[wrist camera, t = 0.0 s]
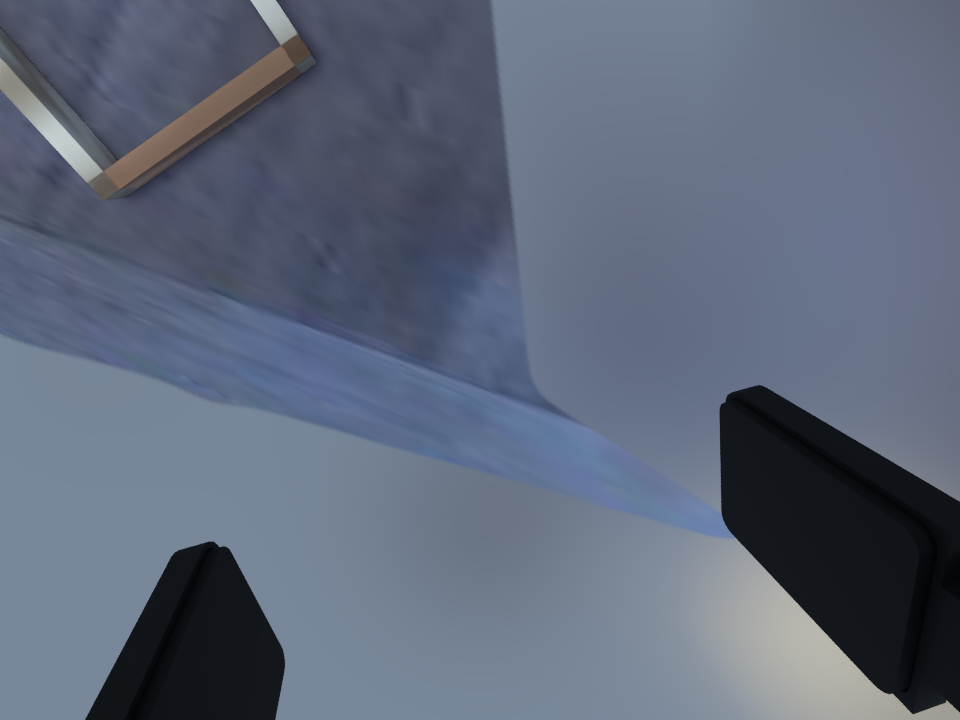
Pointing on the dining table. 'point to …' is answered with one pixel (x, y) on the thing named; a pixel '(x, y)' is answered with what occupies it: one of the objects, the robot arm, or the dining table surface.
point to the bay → (119, 179)
